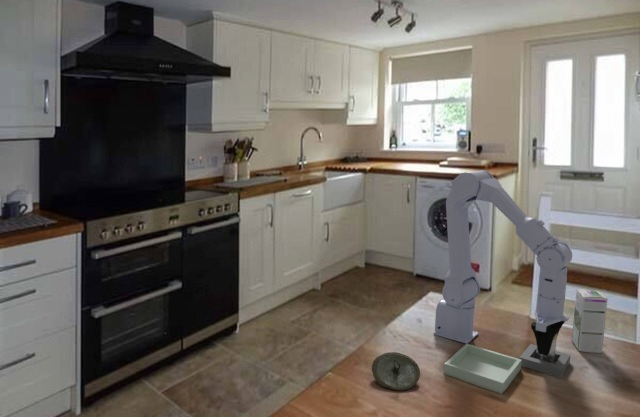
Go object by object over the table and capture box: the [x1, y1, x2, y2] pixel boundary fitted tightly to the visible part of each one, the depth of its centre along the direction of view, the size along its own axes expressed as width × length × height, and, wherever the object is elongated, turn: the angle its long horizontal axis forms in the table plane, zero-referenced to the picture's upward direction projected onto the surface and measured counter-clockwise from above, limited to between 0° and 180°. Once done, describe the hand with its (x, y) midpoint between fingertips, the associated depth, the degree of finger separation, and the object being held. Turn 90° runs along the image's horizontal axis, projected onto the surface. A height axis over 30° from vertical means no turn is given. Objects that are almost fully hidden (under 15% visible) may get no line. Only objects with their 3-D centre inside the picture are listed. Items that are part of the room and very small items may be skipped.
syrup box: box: [571, 288, 608, 354], centre depth 121 cm, size 6×6×14 cm
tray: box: [443, 343, 522, 395], centre depth 109 cm, size 13×13×2 cm
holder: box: [519, 343, 571, 379], centre depth 113 cm, size 9×9×2 cm
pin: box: [535, 333, 558, 364], centre depth 112 cm, size 4×4×8 cm
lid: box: [371, 351, 421, 392], centre depth 105 cm, size 11×10×5 cm
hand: (545, 350), depth 113 cm, fingers closed on pin, 4 cm apart
